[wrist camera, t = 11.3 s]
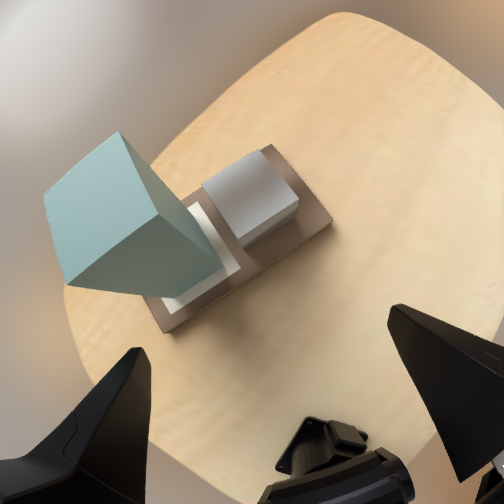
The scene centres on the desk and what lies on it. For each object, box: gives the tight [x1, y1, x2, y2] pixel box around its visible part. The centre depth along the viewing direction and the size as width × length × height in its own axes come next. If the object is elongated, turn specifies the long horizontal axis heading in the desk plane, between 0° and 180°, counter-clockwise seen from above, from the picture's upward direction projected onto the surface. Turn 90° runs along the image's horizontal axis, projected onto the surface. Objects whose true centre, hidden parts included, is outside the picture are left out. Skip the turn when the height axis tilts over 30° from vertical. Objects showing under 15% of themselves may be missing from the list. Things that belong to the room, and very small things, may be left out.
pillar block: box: [43, 131, 224, 299], centre depth 16 cm, size 5×5×13 cm
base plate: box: [142, 144, 333, 334], centre depth 21 cm, size 9×17×5 cm, turn 124°
